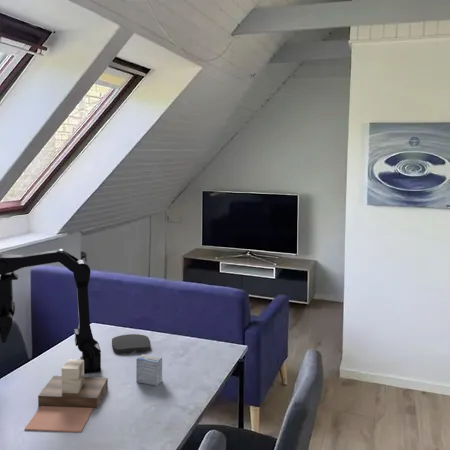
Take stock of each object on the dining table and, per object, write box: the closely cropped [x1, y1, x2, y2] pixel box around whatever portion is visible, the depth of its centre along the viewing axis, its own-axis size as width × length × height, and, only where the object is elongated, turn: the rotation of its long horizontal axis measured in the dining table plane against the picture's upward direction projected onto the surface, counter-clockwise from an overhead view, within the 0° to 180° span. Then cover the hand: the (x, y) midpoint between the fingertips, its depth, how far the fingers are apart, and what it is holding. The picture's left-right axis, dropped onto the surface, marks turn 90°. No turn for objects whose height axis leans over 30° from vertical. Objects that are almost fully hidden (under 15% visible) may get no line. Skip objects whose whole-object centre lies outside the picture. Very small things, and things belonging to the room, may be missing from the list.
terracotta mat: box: [24, 406, 94, 433], centre depth 154 cm, size 13×16×1 cm
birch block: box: [61, 358, 85, 393], centre depth 166 cm, size 7×5×8 cm
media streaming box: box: [111, 333, 152, 355], centre depth 210 cm, size 15×15×3 cm
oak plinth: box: [37, 375, 109, 410], centre depth 168 cm, size 14×18×4 cm
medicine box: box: [135, 353, 163, 387], centre depth 179 cm, size 8×4×9 cm, turn 71°
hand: (4, 337), depth 177 cm, fingers open, 9 cm apart
